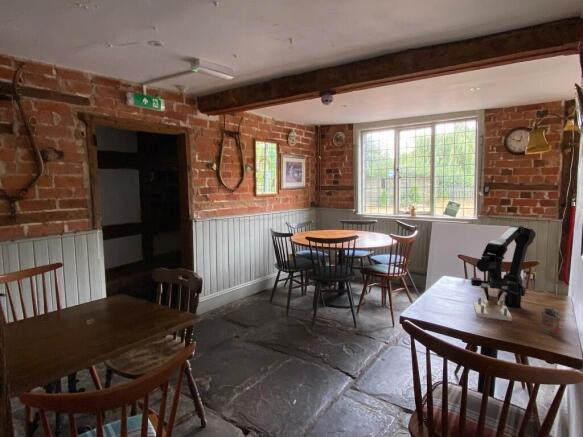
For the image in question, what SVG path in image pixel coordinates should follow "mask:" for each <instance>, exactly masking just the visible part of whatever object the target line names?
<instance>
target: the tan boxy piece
mask: <svg viewBox="0 0 583 437" xmlns="http://www.w3.org/2000/svg"><path fill="white" fill-rule="evenodd" d="M488 297H489V300H488V301H487V299H485V298H483V303H484V304H485V306H486V308H491V309H499V310H501V308H502V307H501V305H500V301H498V296H497V293H493V292H488Z"/></svg>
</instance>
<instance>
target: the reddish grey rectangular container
mask: <svg viewBox="0 0 583 437" xmlns="http://www.w3.org/2000/svg"><path fill="white" fill-rule="evenodd" d="M559 313H560V312H559V311H558V310H555V309H554V308H552V307H548V306H544V310H541V311H540V314H541V317H540V318H541V319H540V326H539V329H540V330H541V331H543V332H544V333H545V334H547V335H549V336H550V335H551V337H552V336H553V337H559V327H560V321H561V317H560V316H559Z"/></svg>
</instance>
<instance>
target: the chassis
mask: <svg viewBox="0 0 583 437" xmlns="http://www.w3.org/2000/svg"><path fill="white" fill-rule="evenodd" d="M499 304H500V305H501V307H502V308H501V310H499V309H491V308H486V306H485V304H484V302H482V297H478V300H477V301H473V308H474V312H475V315H476V317H481V318H487V319H494V320H502V321H509V322H513V317H512V315H511V313H510V311H509V309H508V306H506V305H503V304H504V299H503V300H502V299H499Z"/></svg>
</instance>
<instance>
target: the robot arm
mask: <svg viewBox="0 0 583 437" xmlns="http://www.w3.org/2000/svg"><path fill="white" fill-rule="evenodd" d="M535 238H536V232H535V231H534V229H533V228H527V227H525V226H522V225H520V224H518V225H517V224H512V225H510V226H509V228H508V229H507V230H506V231H505V232H504V233H503V234H502V235H500V236H499V238H495V239H492V240H491V241H488V243H487V244H486V246H485V248H484V251H483V253H482V254H481V257H480V258H481V259H478V260H477V262H476V268H477V270H478V271H479V272H481V273H485V272H487V275H486V280H484V279H483V280H482V279H481V278H480V277H474V276H473V277H471V279H470V284H471V286H473V287H479V288H480V289H483V291H484V294H485V297H486V300H487V301H488V300H489V297H488V293H489V288H490V289H497V292H496V294H497V296H498V302H500V300H501V297H502V295H503V293H505V294H504V295H503V304H504V306H506V307H507V308H508V307H509V308H510V307H511V308H517V309H518V308H519V309H522V305H521V304H522V302H521V301H522V297H525V295H526V291H527V290H526V289H525V287H524V285H523V284H524V280H523V278H522V275H521V274H522V270H523V267H524V262H525V259H526V254H527V250H528V247H529V246H530V245H531V244H533V242H534V239H535ZM512 242H514V243H515V248H514V251H513V255H512V260H511V264H510V268H509V272H508V273H507V274H504V275H503V276H502V274H503V273H502V272H503V260H505V254H506V253H507V251H508V246H509V245H510V244H511V243H512ZM488 286H489V287H488Z"/></svg>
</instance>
